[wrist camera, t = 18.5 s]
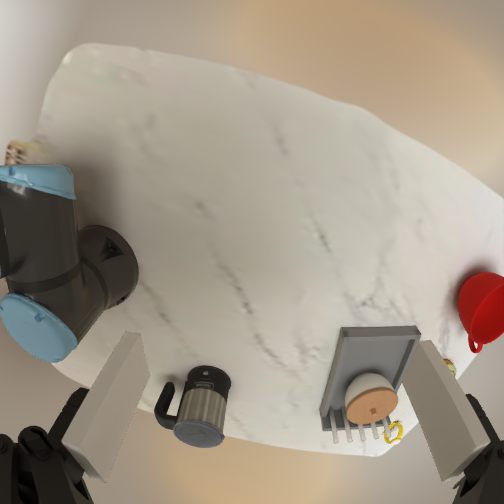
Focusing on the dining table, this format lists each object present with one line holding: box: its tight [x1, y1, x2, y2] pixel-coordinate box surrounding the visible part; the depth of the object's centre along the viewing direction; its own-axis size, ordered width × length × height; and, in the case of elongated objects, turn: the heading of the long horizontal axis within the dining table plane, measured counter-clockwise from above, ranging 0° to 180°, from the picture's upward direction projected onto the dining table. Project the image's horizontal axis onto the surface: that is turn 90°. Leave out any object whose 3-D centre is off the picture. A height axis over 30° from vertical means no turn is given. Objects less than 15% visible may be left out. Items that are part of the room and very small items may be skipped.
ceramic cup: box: [458, 272, 504, 353], centre depth 45 cm, size 13×17×10 cm
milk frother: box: [154, 366, 231, 448], centre depth 54 cm, size 14×16×15 cm
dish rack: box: [320, 326, 421, 443], centre depth 52 cm, size 16×24×11 cm, turn 178°
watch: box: [384, 423, 403, 445], centre depth 62 cm, size 6×3×6 cm, turn 156°
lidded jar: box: [345, 372, 398, 424], centre depth 52 cm, size 11×11×9 cm
